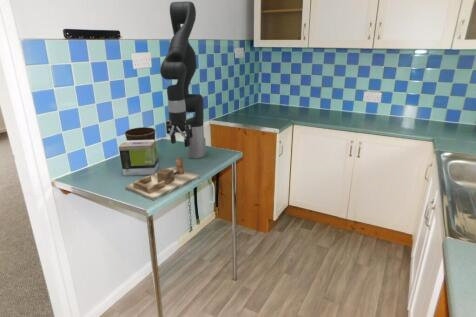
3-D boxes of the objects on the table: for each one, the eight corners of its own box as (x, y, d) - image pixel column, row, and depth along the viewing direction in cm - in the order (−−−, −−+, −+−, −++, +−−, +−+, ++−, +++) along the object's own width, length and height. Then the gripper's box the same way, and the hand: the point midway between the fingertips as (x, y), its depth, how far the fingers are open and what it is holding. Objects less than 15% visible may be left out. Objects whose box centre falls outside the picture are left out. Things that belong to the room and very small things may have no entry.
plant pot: (149, 166, 159) (146, 136, 153) (123, 164, 162) (118, 134, 156) (163, 156, 172) (160, 128, 167) (138, 154, 176) (134, 126, 170)
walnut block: (178, 171, 150) (177, 157, 148) (187, 173, 148) (185, 159, 146) (158, 182, 139) (156, 167, 136) (167, 184, 137) (165, 169, 134)
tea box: (159, 167, 158) (156, 138, 153) (155, 175, 149) (151, 145, 144) (128, 167, 158) (124, 139, 153) (122, 176, 149) (118, 146, 143)
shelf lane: (172, 168, 156) (172, 161, 155) (199, 177, 146) (199, 170, 145) (125, 188, 136) (124, 181, 135) (153, 200, 126) (152, 192, 125)
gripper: (195, 110, 137) (197, 145, 143) (172, 106, 145) (175, 139, 151) (182, 113, 131) (185, 150, 138) (159, 109, 139) (163, 144, 146)
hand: (180, 144), depth 144 cm, fingers open, 8 cm apart
